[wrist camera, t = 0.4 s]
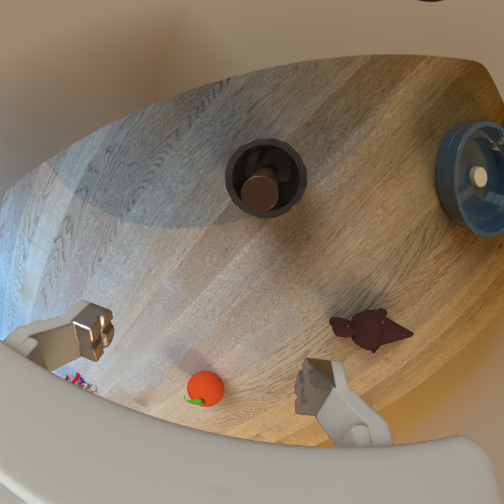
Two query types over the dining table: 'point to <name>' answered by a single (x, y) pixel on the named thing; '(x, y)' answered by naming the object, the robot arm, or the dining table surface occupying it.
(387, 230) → the dining table surface
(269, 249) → the dining table surface
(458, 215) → the bowl
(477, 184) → the dough
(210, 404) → the clementine
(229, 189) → the holder
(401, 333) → the icecream
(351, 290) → the dining table surface
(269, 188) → the stick
